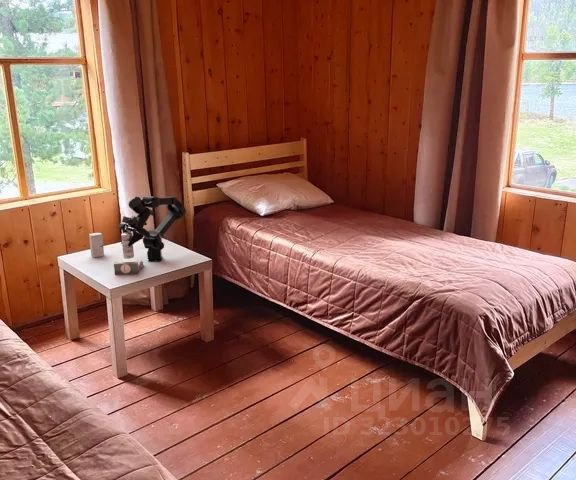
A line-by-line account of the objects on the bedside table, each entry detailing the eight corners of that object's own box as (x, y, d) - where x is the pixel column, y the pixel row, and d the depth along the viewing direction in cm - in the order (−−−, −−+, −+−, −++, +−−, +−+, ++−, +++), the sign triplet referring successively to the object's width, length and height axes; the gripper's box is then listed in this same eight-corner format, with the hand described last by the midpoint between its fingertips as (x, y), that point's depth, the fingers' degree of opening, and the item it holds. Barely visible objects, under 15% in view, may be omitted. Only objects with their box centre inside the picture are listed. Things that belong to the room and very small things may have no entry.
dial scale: (143, 265, 282) (142, 254, 280) (137, 274, 269) (136, 263, 267) (121, 265, 281) (120, 255, 280) (114, 275, 268) (113, 264, 267)
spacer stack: (131, 254, 278) (129, 231, 274) (135, 257, 274) (133, 234, 270) (122, 256, 275) (119, 233, 271) (125, 259, 271) (123, 235, 267)
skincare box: (93, 257, 293) (90, 235, 289) (90, 255, 297) (88, 233, 293) (104, 255, 296) (102, 234, 293) (102, 253, 300) (100, 232, 296)
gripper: (119, 206, 276) (102, 233, 271) (143, 212, 265) (126, 240, 260) (133, 218, 284) (117, 244, 279) (157, 224, 273) (141, 251, 268)
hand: (125, 244), depth 271 cm, fingers closed on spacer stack, 5 cm apart
